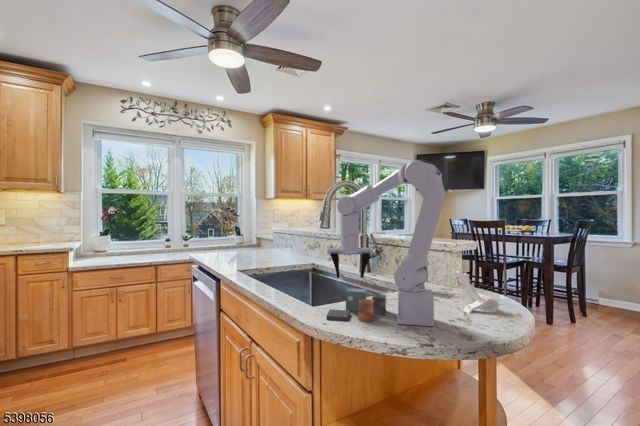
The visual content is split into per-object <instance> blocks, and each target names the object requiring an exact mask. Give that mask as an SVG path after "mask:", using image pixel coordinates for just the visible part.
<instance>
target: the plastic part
mask: <svg viewBox="0 0 640 426" xmlns="http://www.w3.org/2000/svg"><path fill="white" fill-rule="evenodd" d="M460 272H461V271H460V270H456V271H455V274H456V275H457V277H458V278H459V280H460V283H461V285H462V286H463V289H464V290H465V293H466V294H467V296H468V297H469V300H470V302H471V303H469V304H466V305H465V306H464V307H463V312H464V313H467V314H471V313H472V312H473V311H474V310H477V309H481V310H484V311H485V312H487V313H489V314H491V313H496V312H498V310H499V308H500V307H499V302H498V300H496V298H492V297H491V296H488V295H485V294H483V293H480V292H478V291H477V289H476V287H475V286H474V284H472V283H471V279H470V278H469V276H468V273H467V272H464V273H460Z"/></svg>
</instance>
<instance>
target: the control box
mask: <svg viewBox="0 0 640 426" xmlns="http://www.w3.org/2000/svg"><path fill="white" fill-rule="evenodd" d="M360 299H367V289H365V288H346V290H345V310H348V311H350V312H354V313H355V312H356V313H359V300H360Z"/></svg>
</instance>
